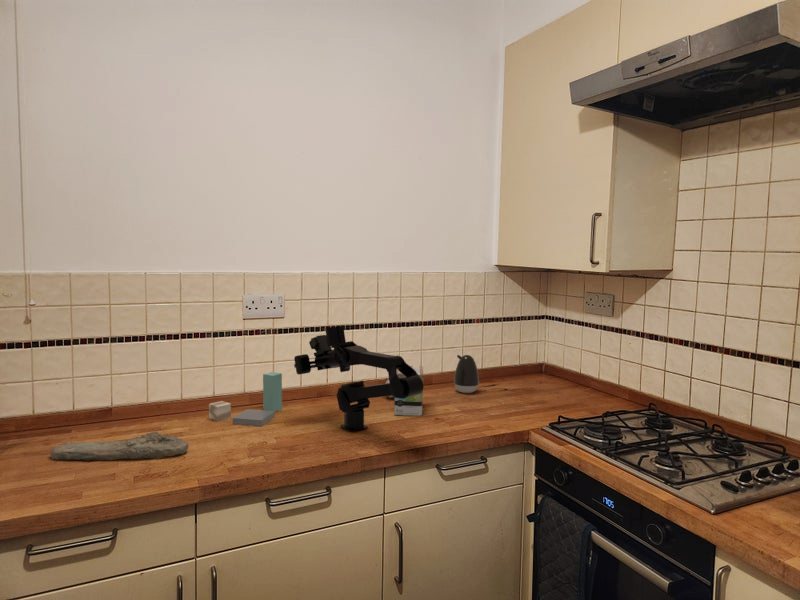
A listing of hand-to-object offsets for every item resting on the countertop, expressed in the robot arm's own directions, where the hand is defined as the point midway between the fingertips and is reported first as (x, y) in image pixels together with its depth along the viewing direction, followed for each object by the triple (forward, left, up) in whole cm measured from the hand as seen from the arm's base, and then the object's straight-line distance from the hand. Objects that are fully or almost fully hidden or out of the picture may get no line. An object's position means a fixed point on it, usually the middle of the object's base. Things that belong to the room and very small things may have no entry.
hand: (305, 364), depth 185 cm
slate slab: (+1, +19, -17) cm, 26 cm away
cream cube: (+10, +27, -17) cm, 33 cm away
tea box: (-20, -30, -17) cm, 40 cm away
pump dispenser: (-15, -65, -17) cm, 69 cm away
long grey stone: (-6, +60, -17) cm, 63 cm away
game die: (-5, -35, -17) cm, 39 cm away
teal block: (+8, +9, -17) cm, 20 cm away
